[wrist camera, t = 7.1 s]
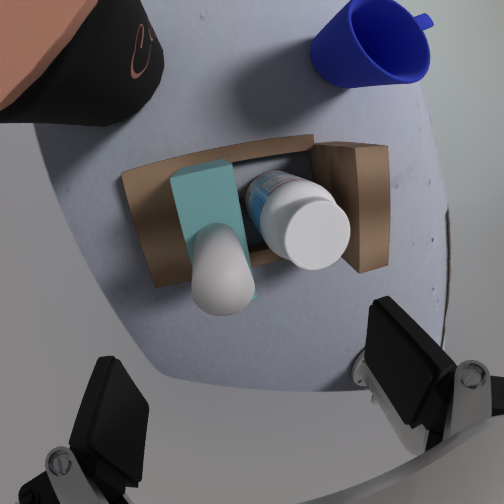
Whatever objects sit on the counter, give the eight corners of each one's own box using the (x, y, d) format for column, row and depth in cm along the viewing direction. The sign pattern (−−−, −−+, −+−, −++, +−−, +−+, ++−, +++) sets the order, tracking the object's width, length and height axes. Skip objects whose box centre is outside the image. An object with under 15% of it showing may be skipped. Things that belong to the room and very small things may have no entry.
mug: (399, 65, 22) (460, 53, 13) (332, 109, 24) (392, 100, 15) (360, 10, 19) (412, -19, 10) (283, 46, 21) (324, 6, 12)
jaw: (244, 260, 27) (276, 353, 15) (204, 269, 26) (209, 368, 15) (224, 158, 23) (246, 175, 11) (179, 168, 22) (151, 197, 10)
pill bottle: (283, 237, 29) (327, 293, 18) (232, 211, 26) (252, 258, 16) (313, 188, 27) (375, 220, 17) (264, 157, 25) (306, 170, 15)
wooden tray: (342, 239, 30) (387, 275, 22) (157, 280, 28) (144, 334, 20) (334, 132, 25) (386, 132, 17) (125, 171, 23) (88, 187, 15)
